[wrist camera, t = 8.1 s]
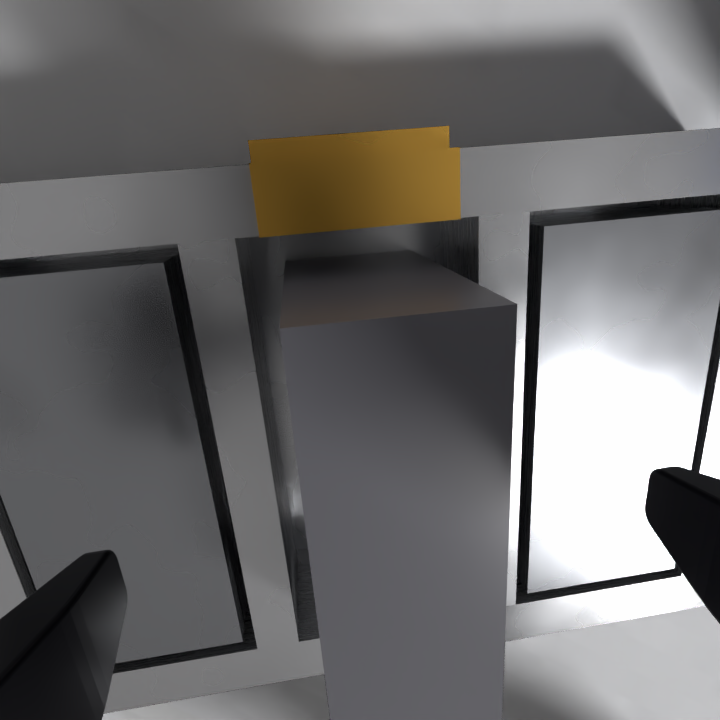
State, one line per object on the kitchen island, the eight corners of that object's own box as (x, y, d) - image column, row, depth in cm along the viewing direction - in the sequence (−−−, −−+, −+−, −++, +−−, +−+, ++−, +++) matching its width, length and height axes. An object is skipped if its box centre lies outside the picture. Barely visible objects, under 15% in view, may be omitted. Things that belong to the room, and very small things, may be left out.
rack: (638, 528, 17) (725, 612, 13) (75, 619, 15) (14, 741, 11) (693, 119, 12) (839, 94, 9) (-81, 177, 11) (-247, 172, 7)
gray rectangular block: (420, 525, 15) (500, 736, 9) (318, 539, 14) (336, 768, 9) (410, 249, 12) (517, 303, 6) (285, 261, 12) (279, 328, 6)
